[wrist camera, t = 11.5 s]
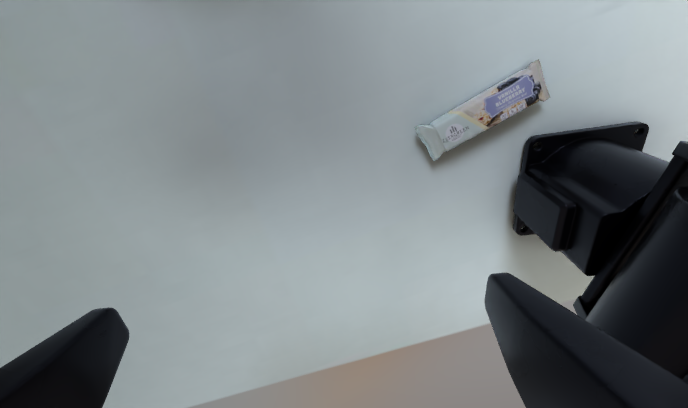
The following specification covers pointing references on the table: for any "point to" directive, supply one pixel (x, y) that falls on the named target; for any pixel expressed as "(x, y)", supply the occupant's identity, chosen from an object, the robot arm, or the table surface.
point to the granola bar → (484, 110)
